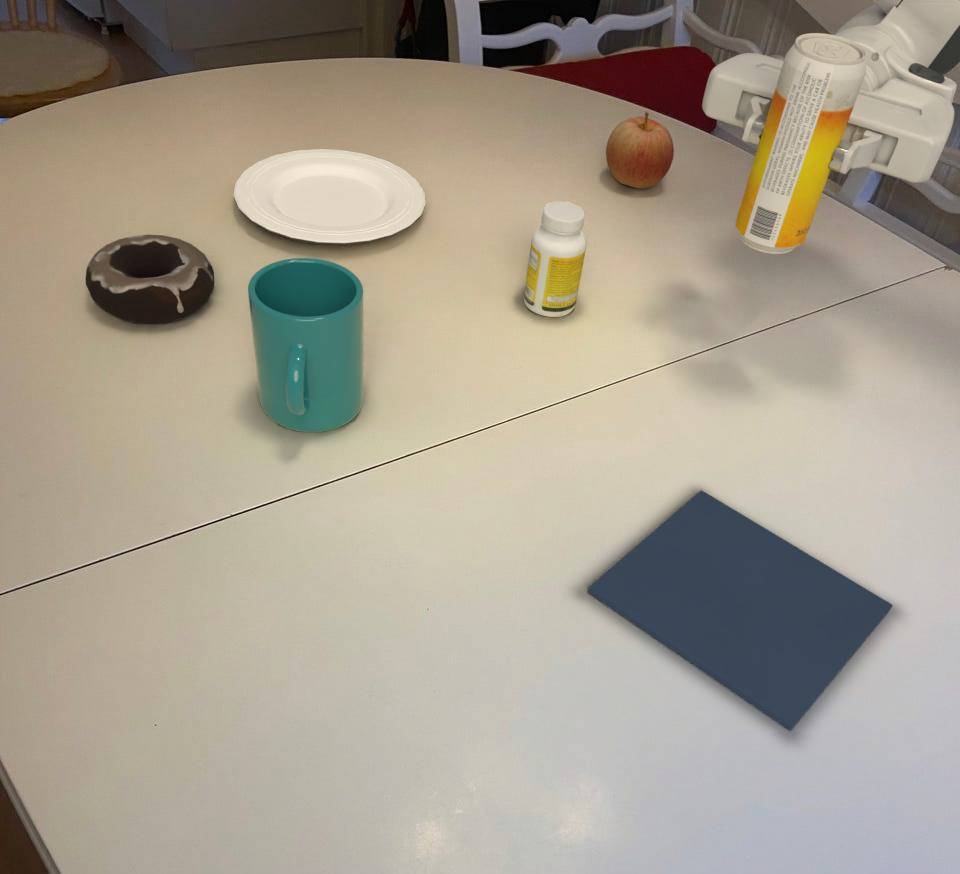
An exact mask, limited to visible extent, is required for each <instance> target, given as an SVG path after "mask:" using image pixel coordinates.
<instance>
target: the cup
mask: <svg viewBox="0 0 960 874" xmlns="http://www.w3.org/2000/svg"><path fill="white" fill-rule="evenodd" d="M247 295H248V305H249V314H250V315H249V316H250V324H251V331H252V332H251V333H252V340H253V341H252V342H253V352H254V363H255V371H256V381H257V388H258V389H257V391H258V398H259V403H260V406H261V408H262V410H263V412H264V414H265V415H267V417H268V418H270V419H271V421H273V422H275V423H276V424H278V425H280V426H282V427H284V428H286V429H290V430H293V431H297V432H303V433H304V432H305V433H322V432H328V431H332V430H335V429H338V428H340V427H343V426H345V425H346V424H348V423H349V422H351V421H352V420H354V419H355V417H356V416H358V414H359V413H360V411H361V410H362V407H363V404H364V394H365V393H364V392H365V390H364V389H365V388H364V387H365V386H364V385H365V383H364V382H365V381H364V380H365V379H364V372H365V370H364V369H365V368H364V367H365V366H364V361H365V360H364V357H365V356H364V355H365V354H364V353H365V351H364V348H365V347H364V286H363V284H362V282H361V280H360V279H359V277H358V275H356V274H355V273H354V272H352V271H351V270H350V269H348V268H347V267H344V266H343V265H341V264H338V263H336V262H333V261H329V260H327V259H326V260H325V259H320V258H313V257H312V258H311V257H296V258H295V257H294V258H288V259H287V258H286V259H282V260H278V261H275V262H271V263H270V264H267V265H265V266H263V267H262V268H260V269H258V270H257V271H256V272H255V273H254V274H253V275H252V277H251V278H250V280H249V282H248V285H247Z"/></svg>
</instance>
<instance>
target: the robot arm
mask: <svg viewBox="0 0 960 874" xmlns="http://www.w3.org/2000/svg"><path fill="white" fill-rule="evenodd" d="M871 1H872V2H873V4H872V5H871V6H869V7H867V8H865V9H863V10H861V11H860V12H859V13H857V14H856V15H854V16H853V17H852V18H851V19H849V20H847V22H846V23H844V24H843V25H842V26H841V27H840V28H839V29H838V30H837V31H836V32H835V33H834V35H835V36H839V37H843V38H846V39H849V40H851V41H853V42H856V43H857V44H859V45H860V46H862V47H863V48H864V49H865V50H866V53H867V55H866V58H865V61H866V74H865V77H864V79H863V82H862V85H861V88H860V90H859V93H858V96H857V99H856V101H855V104H854V107H853V110H852V112H851V115H850V118H849V121H848V123H847V126H846V129H845V132H844V134H843V137H842V140H841V142H840V144H839V145H838V146H837V147H836V148H835V150H834V152H833V155H832V158H833V159H832V160H831V161H830V163H829V166H828V168H829V169H831V170H830V171H834V172H837V173H840V174H843V175H847V173H848V172H849V171H850V170H851V169H860V168H866V169H870V170H873V171H875V172H879V173H882V174H885V175H889V176H890V177H891V176H892V177H894V178H898V179H901V180H904V181H907V182H910V183H914V184H920V183H927V182H928V181H929V180H930V179H931V176H932V174H933V173H934V170H935V168H936V166H937V164H938V163H939V162H938V161H939V159H940V157H941V155H942V153H943V150H944V148H945V146H946V143H947V141H948V139H949V137H950V134H951V131H952V128H953V125H954V120H955V108H954V105H953V101H954V98H955V94H956V91H957V88H958V85H957V83H956V81H954V79H953V80H952V79H951V78H950V77H946V76H944V75H946V74H948V73H949V72H950V71H952V70H953V69H954V68H955V67H956V66H957V65H958V64H959V63H960V0H871ZM783 62H784V59H780V58H775V57H772V56H769V55H767V54H766V55H765V54H762V53H757V52H744V53H740V54H737V55H735V56H732V57H730V58H728V59H726V60H724V61H722V62H721V63H719V64H717V65H715V66H714V67H713V68H712V69H711V71H710V73H709V75H708V79H707V81H706V86H705V89H704V93H703V98H702V104H701V109H702V111H703V112H704V114H705V116H707V117H708V118H711V119H713V120H716V121H720V122H723V123H726V124H729V125H732V126H735V127H738V128H742V129H744V130H743V134H742V138H741V139H742V140H741V141H742V142H744V143H748V144H751V145H755V146H757V147H758V146H759V142H760V139H761V136H762V132H763V129H764V126H765V122H766V119H767V116H768V112H769V109H770V106H771V102H772V99H773V96H774V92H775V89H776V86H777V82H778V79H779V76H780V72H781V69H782V66H783Z"/></svg>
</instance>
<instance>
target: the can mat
mask: <svg viewBox="0 0 960 874" xmlns="http://www.w3.org/2000/svg"><path fill="white" fill-rule="evenodd" d="M587 594H589V595H590V596H592V597H594V598H595V599H596V600H598V601H600V602H601V603H603V604H604V605H606V606H607V607H608V608H609V609H611V610H612V611H614V612H616V613H617V614H619V615H620V616H621V617H623V618H624V619H626V620H627V621H629V622H630V623H631V624H633V625H635V626H636V627H638V628H639V629H641V630H642V631H644V632H645V633H646V634H648V635H649V636H650V637H652V638H654V639H655V640H657V642H659V643H661V644H662V645H664V646H666V648H668V649H670V650H671V651H672V652H674V653H676V654H677V655H679V656H680V657H682V658H683V659H684V660H686V661H688V662H689V663H691V664H692V665H693V666H695V667H696V668H697V669H699V670H701V671H702V672H704V673H705V674H707V675H708V676H710V677H711V678H713V679H714V680H715V681H717V682H718V683H720V684H721V685H723V686H724V687H726V688H727V689H728V690H730V691H731V692H733V693H734V694H736V695H737V696H739V697H740V698H742V699H743V700H744V701H746V702H747V703H749V704H750V705H752V706H753V707H755V708H756V709H758V710H759V711H761V712H762V713H764V714H765V715H767V716H768V717H770V718H771V719H772V720H774V721H775V722H777V723H778V724H781V726H783V727H784V728H786V729H787V730H789V731H792V730H793V729H794V727H796V725H797V724H798V722H800V721H801V719H802V717H803V716H804V715H805V714H806V713H807V712H808V710H809V709H810V708H811V707H812V706H813V704H814V703H815V702H816V700H818V698H819V697H820V696H821V695H822V693H823V692H825V690H826V689H827V687H828V686H829V685H830V684H831V683H832V681H833V680H834V679H835V677H836V676H837V675H839V673H840V671H842V669H843V668H844V667H845V665H846V664H847V663H848V662H849V660H851V658H852V657H853V656H854V654H855V653H856V652H857V651H858V649H860V647H861V646H862V645H863V643H864V642H866V640H867V639H868V638H869V636H870V635H871V634H872V632H874V630H875V629H876V628H877V626H878V625H879V624H880V623H881V622H882V620H883V619H885V617H886V615H887V614H888V613H889V612H890V611H891V609H892V608H893V604H892V603H890V602H888V601H886V600H885V599H884V598H882V597H881V596H879V595H877V594H875V593H874V592H872V591H870V590H869V589H867V588H866V587H863V586H862V585H860V584H859V583H857V582H856V581H854V580H852V579H851V578H849V577H847V576H845V575H844V574H842V573H840V572H839V571H837V570H835V569H834V568H833V567H830V566H828V565H827V564H825V563H824V562H822V561H821V560H819V559H817V558H815V557H813V556H812V555H810V554H809V553H807V552H805V551H803V550H802V549H801V548H799V547H797V546H795V545H793V544H792V543H790V542H789V541H787V540H785V539H783V538H782V537H780V536H779V535H777V534H776V533H774V532H772V531H770V530H769V529H767V528H766V527H764V526H762V525H760V524H758V523H757V522H756V521H754V520H752V519H750V518H749V517H747V516H745V515H744V514H742V513H740V512H739V511H737V510H736V509H733V508H732V507H730V506H729V505H727V504H725V503H724V502H722V501H721V500H719V499H717V498H715V497H713V496H712V495H710V494H709V493H707V492H705V491H704V490H701V489H700V491H699V492H698V493H696V494H695V495H694V496H692V497H691V498H690V499H689V500H688V501H687V502H686V503H684V505H682V506H681V507H680V508H679V509H677V510H676V511H675V512H674V513H673V514H672V515H671V516H670V517H668V518H667V519H666V520H665V521H664V522H663V523H661V524H660V525H659V526H658V527H657V528H656V529H654V530H653V531H652V532H651V533H650V534H649V535H648V536H647V537H645V538H644V539H643V540H642V541H641V542H639V543H638V544H637V545H636V546H634V548H632V549H631V550H630V551H629V552H628V553H627V554H626V555H624V556H623V557H621V559H620V560H619V561H618V562H616V563H615V564H614V565H613V566H611V568H609V569H608V570H607V571H606V572H605V573H604V574H603V575H601V576H600V577H599V578H598V579H597V580H595V581H594V582H593V583H592V584H591V585H590V586H588V588H587Z"/></svg>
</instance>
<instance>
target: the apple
mask: <svg viewBox="0 0 960 874" xmlns="http://www.w3.org/2000/svg"><path fill="white" fill-rule="evenodd" d="M649 115H650V113H649V111H645V112H644V116H635V117H629V118H627V119H624V120H623V121H621V122H620V123H618V124H617V125H616V126H615V127H614V129H613V130H612V131H611V133H610V135H609V137H608V140H607V143H606V147H605V159H606V164H607V167H608V170H609V171H610V173H611V175H612V177H614V179H615V180H616V181H618V182H619V183H620V184H622V185H624V186H629V187H632V188H635V189H647V188H651V187H654V186H655V185H657V184H658V183H660V182H661V181H662V180H663V179H664V177H666V175H667V173H668V172H669V171H670V168H671V166H672V163H673V160H674V154H675V149H674V148H675V147H674V142H673V138H672V135H671V133H670V131H669V129H667V128H666V127H665V126H664V125H663V124H661V123H660V122H658V121H657V120H654V119H651V118H649Z"/></svg>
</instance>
